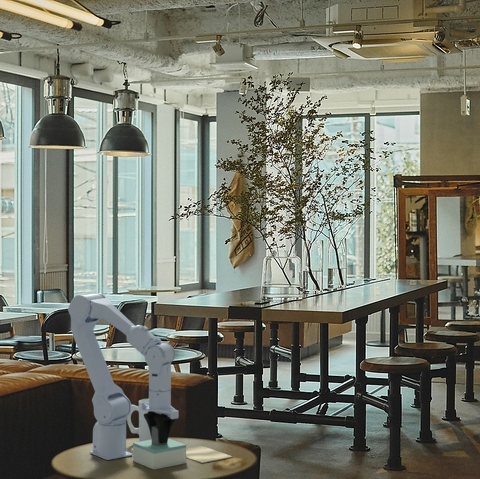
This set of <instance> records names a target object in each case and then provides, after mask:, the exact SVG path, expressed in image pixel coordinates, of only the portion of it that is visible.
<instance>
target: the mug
mask: <svg viewBox="0 0 480 479" xmlns="http://www.w3.org/2000/svg"><path fill="white" fill-rule="evenodd" d="M142 402H149V398H143V399H140V400H138V405H135V404H131V411H130V413H129V415H128V416H127V420H126V423H127V425H128V428H129V430H130V432H131V433H132V434H137V435H138V436H139V441H138V442H140V441H146V440H152V438H151V434H150V430H149V427H148V424H147V421H146V420H145V418H144V414H146V413H148V411H146V410H142ZM135 411H136V412H138V427H134V425H133V423H132V419H131V417H132V414H133V412H135Z"/></svg>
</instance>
